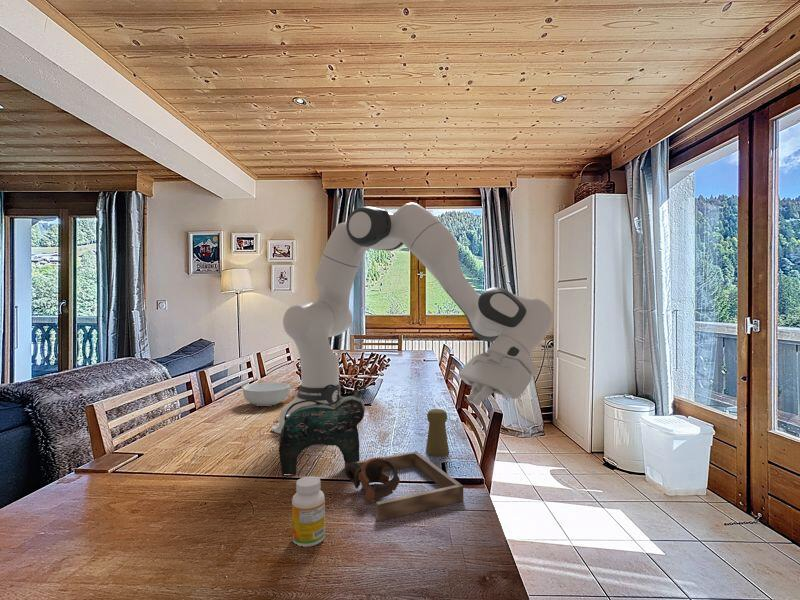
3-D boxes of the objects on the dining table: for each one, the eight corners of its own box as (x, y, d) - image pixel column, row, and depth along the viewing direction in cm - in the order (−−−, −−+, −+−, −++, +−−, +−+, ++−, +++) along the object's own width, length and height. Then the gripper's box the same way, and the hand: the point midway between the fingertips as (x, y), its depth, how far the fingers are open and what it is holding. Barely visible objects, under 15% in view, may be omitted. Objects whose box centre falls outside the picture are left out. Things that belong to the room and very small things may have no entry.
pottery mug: (401, 485, 94) (406, 460, 90) (388, 524, 86) (393, 498, 82) (350, 467, 96) (352, 442, 92) (332, 504, 88) (335, 477, 84)
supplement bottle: (295, 530, 75) (294, 475, 75) (326, 529, 76) (325, 473, 76) (289, 548, 70) (289, 488, 70) (323, 546, 70) (323, 487, 70)
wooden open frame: (416, 463, 105) (416, 451, 105) (463, 501, 85) (463, 486, 85) (344, 476, 97) (344, 463, 97) (378, 521, 78) (378, 504, 78)
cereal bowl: (263, 412, 152) (263, 392, 152) (233, 406, 161) (233, 387, 161) (299, 402, 166) (299, 384, 166) (270, 397, 175) (269, 379, 175)
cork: (448, 457, 109) (447, 413, 109) (424, 455, 110) (423, 412, 110) (450, 448, 115) (449, 407, 114) (427, 447, 116) (427, 406, 116)
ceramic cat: (364, 462, 106) (363, 380, 106) (367, 473, 99) (366, 386, 99) (280, 468, 102) (279, 384, 102) (277, 480, 96) (276, 390, 96)
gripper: (473, 343, 111) (441, 385, 107) (527, 352, 92) (490, 403, 88) (488, 359, 113) (456, 401, 109) (544, 371, 94) (508, 422, 90)
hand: (472, 402), depth 98 cm, fingers closed
